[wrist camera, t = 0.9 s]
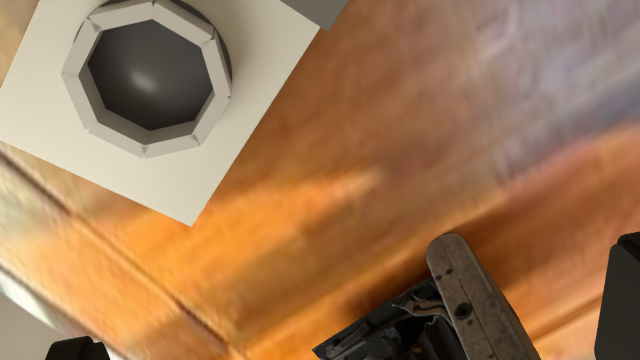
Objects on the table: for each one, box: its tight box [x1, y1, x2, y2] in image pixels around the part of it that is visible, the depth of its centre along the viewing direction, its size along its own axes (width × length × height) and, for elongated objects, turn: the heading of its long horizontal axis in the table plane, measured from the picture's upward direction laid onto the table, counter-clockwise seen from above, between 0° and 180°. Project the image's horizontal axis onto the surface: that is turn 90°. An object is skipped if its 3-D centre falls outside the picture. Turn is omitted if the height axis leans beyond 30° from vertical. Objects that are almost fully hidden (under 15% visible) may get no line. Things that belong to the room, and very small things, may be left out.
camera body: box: [0, 0, 348, 227], centre depth 32 cm, size 20×13×8 cm, turn 146°
